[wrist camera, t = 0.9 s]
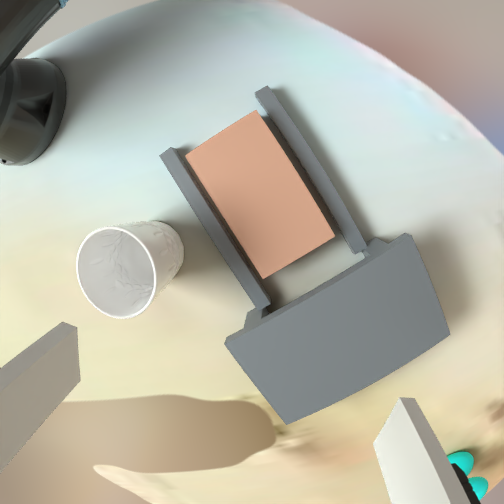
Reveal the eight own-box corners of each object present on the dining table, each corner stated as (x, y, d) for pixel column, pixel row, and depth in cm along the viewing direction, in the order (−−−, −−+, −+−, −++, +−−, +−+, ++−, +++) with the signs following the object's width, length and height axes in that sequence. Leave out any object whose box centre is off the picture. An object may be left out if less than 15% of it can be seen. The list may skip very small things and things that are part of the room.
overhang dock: (139, 175, 33) (114, 173, 27) (296, 74, 29) (299, 53, 24) (286, 395, 36) (286, 424, 31) (429, 314, 33) (450, 334, 28)
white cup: (163, 201, 33) (120, 206, 23) (204, 261, 34) (175, 290, 24) (112, 241, 34) (62, 259, 25) (150, 297, 35) (111, 333, 25)
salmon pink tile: (192, 158, 32) (184, 155, 29) (257, 116, 31) (255, 109, 28) (264, 271, 34) (263, 279, 31) (330, 232, 32) (335, 236, 29)
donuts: (431, 527, 30) (447, 499, 28) (417, 489, 40) (428, 458, 38) (479, 507, 29) (498, 476, 27) (462, 473, 39) (476, 441, 37)
